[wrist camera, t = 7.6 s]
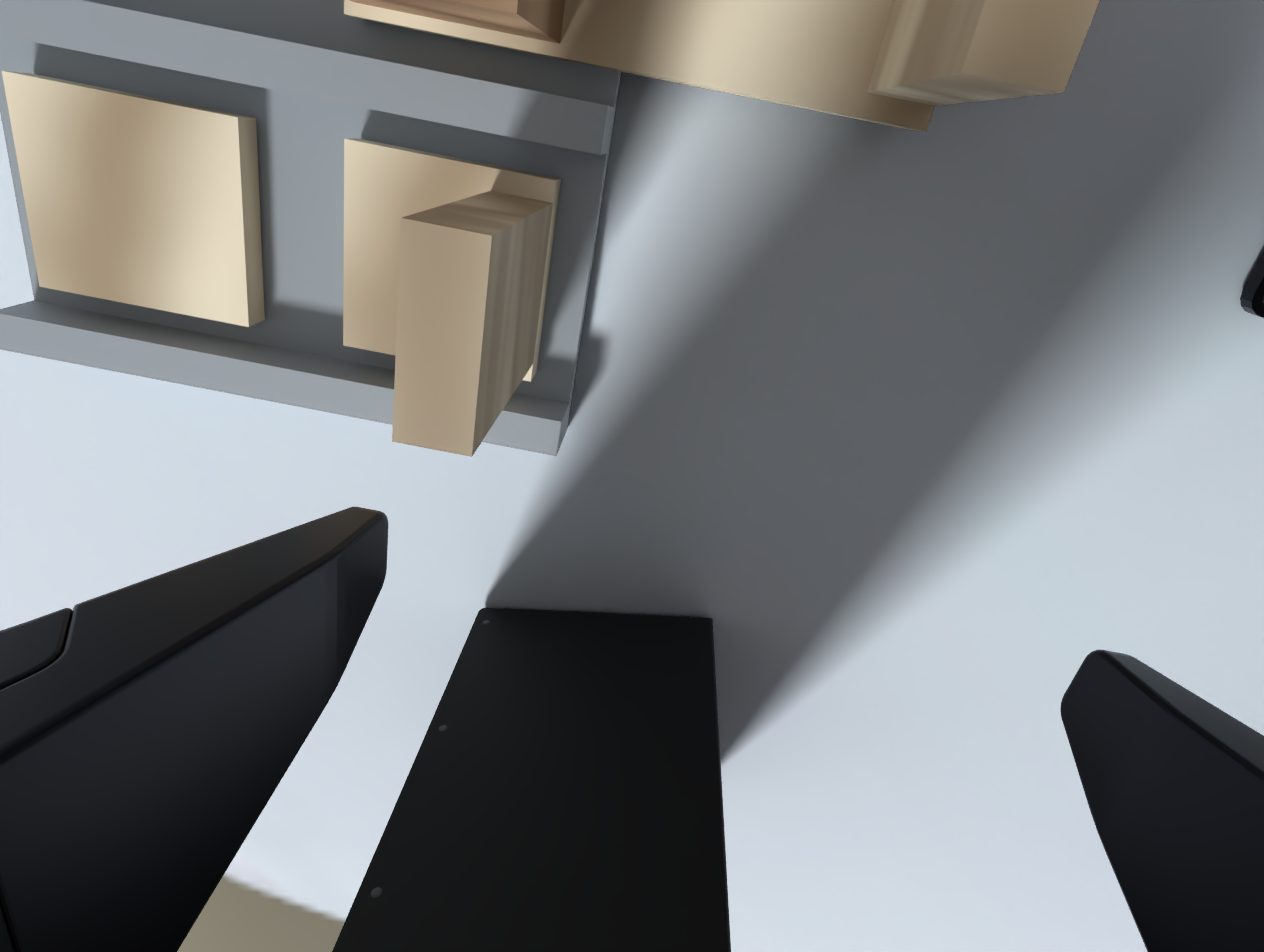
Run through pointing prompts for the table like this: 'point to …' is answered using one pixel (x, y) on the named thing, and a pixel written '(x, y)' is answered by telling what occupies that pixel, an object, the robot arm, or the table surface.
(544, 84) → the lane board
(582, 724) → the black rectangular block
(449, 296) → the strip broken
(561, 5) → the cube
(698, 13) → the tan piece
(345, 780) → the table surface
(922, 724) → the table surface
